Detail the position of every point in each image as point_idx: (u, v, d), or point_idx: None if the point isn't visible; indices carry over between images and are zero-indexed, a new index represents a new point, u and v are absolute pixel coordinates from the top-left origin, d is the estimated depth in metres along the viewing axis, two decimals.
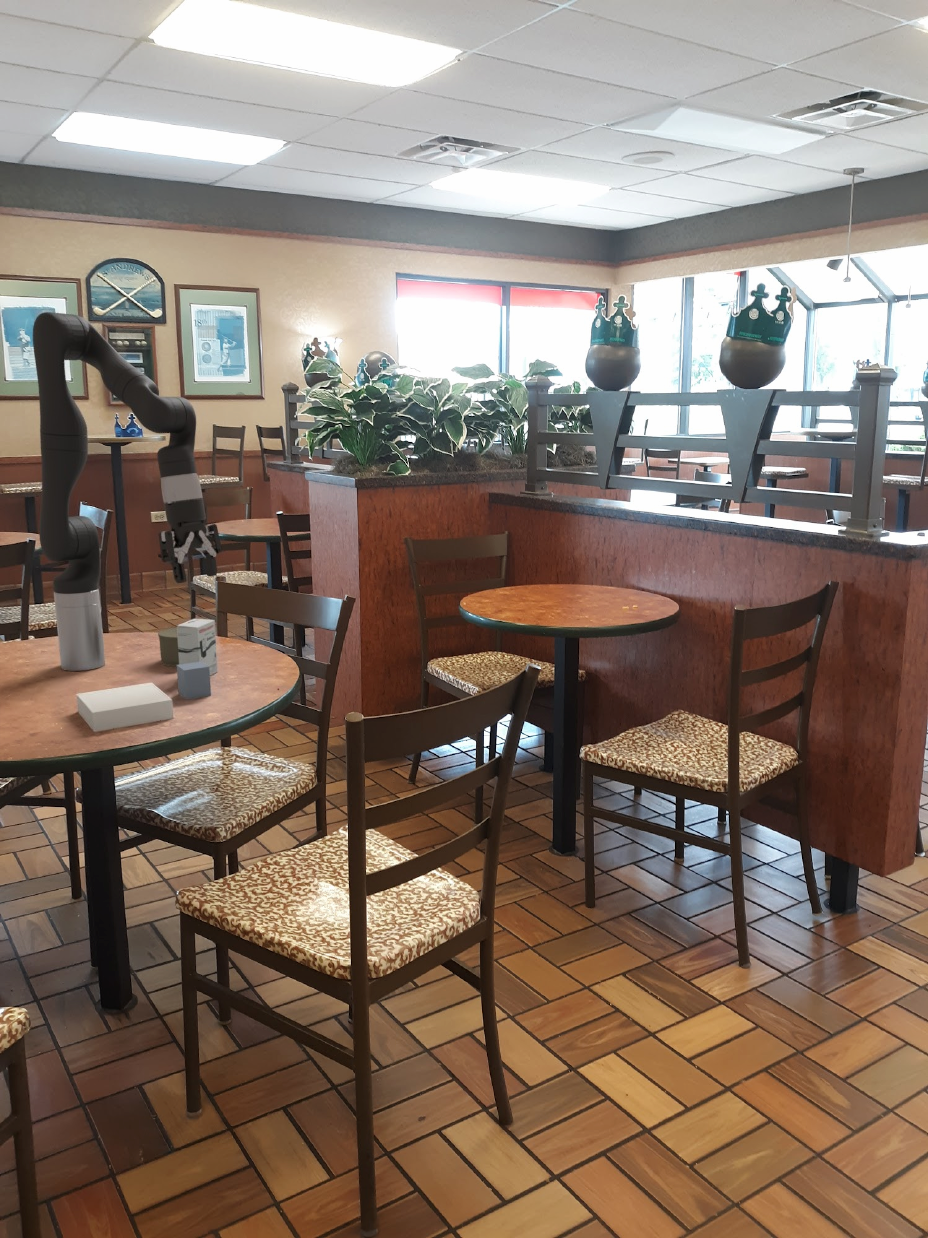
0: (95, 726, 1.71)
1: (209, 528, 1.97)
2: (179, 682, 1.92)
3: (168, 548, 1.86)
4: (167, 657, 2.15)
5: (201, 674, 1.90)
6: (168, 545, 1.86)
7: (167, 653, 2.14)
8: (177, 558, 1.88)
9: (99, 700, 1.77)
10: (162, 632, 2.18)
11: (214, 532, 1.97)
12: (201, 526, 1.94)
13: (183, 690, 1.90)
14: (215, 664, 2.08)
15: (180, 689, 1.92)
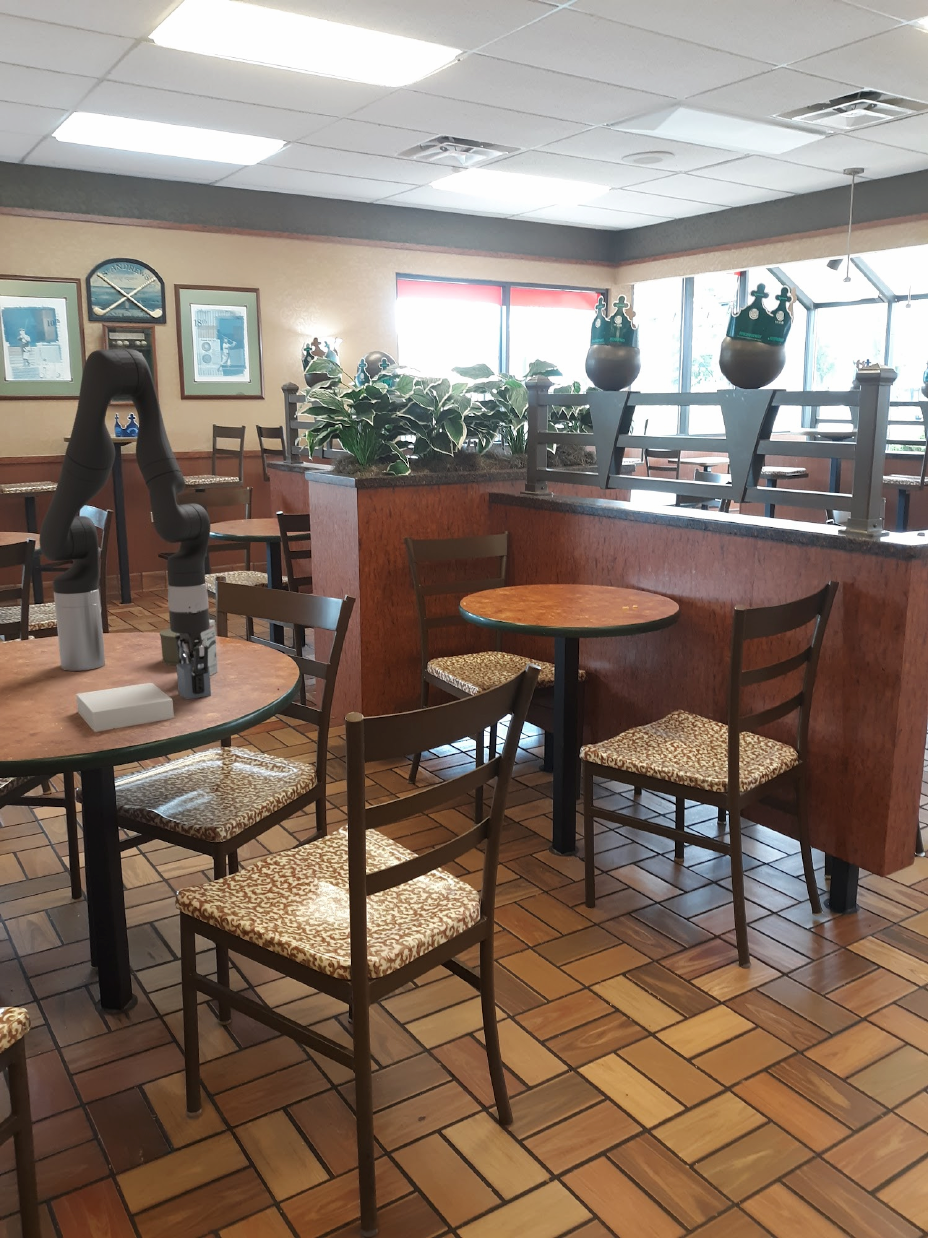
0: (95, 726, 1.71)
1: None
2: (178, 682, 1.92)
3: (206, 662, 1.87)
4: (168, 656, 2.15)
5: None
6: (207, 660, 1.87)
7: (168, 652, 2.15)
8: None
9: (99, 700, 1.77)
10: (164, 631, 2.19)
11: None
12: None
13: (183, 690, 1.90)
14: (215, 664, 2.08)
15: (180, 689, 1.92)
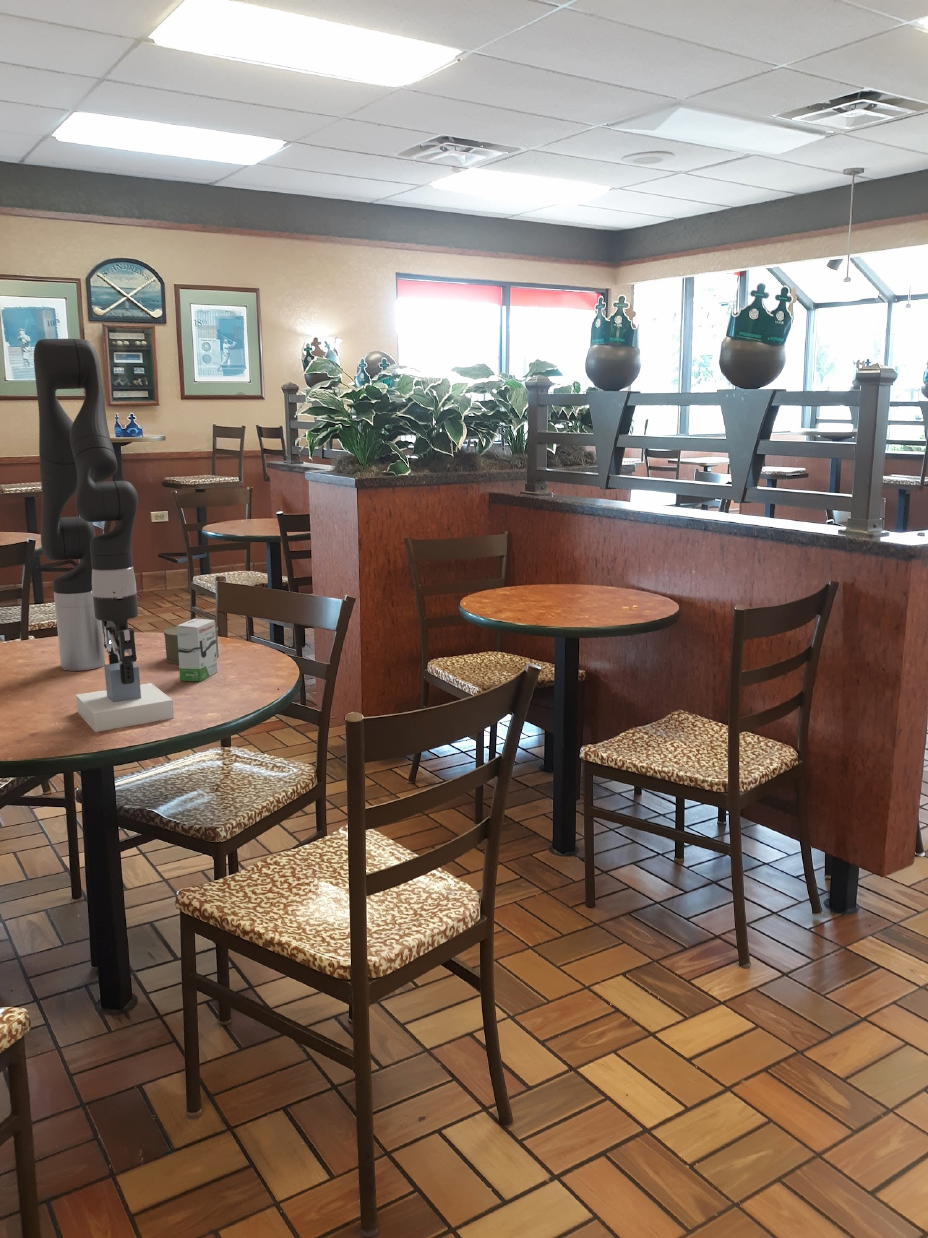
0: (96, 727, 1.71)
1: None
2: (106, 684, 1.79)
3: (133, 648, 1.72)
4: (172, 655, 2.17)
5: None
6: (134, 645, 1.72)
7: (172, 650, 2.16)
8: None
9: (99, 701, 1.77)
10: (167, 630, 2.20)
11: None
12: None
13: (110, 692, 1.77)
14: (215, 664, 2.08)
15: (108, 691, 1.79)
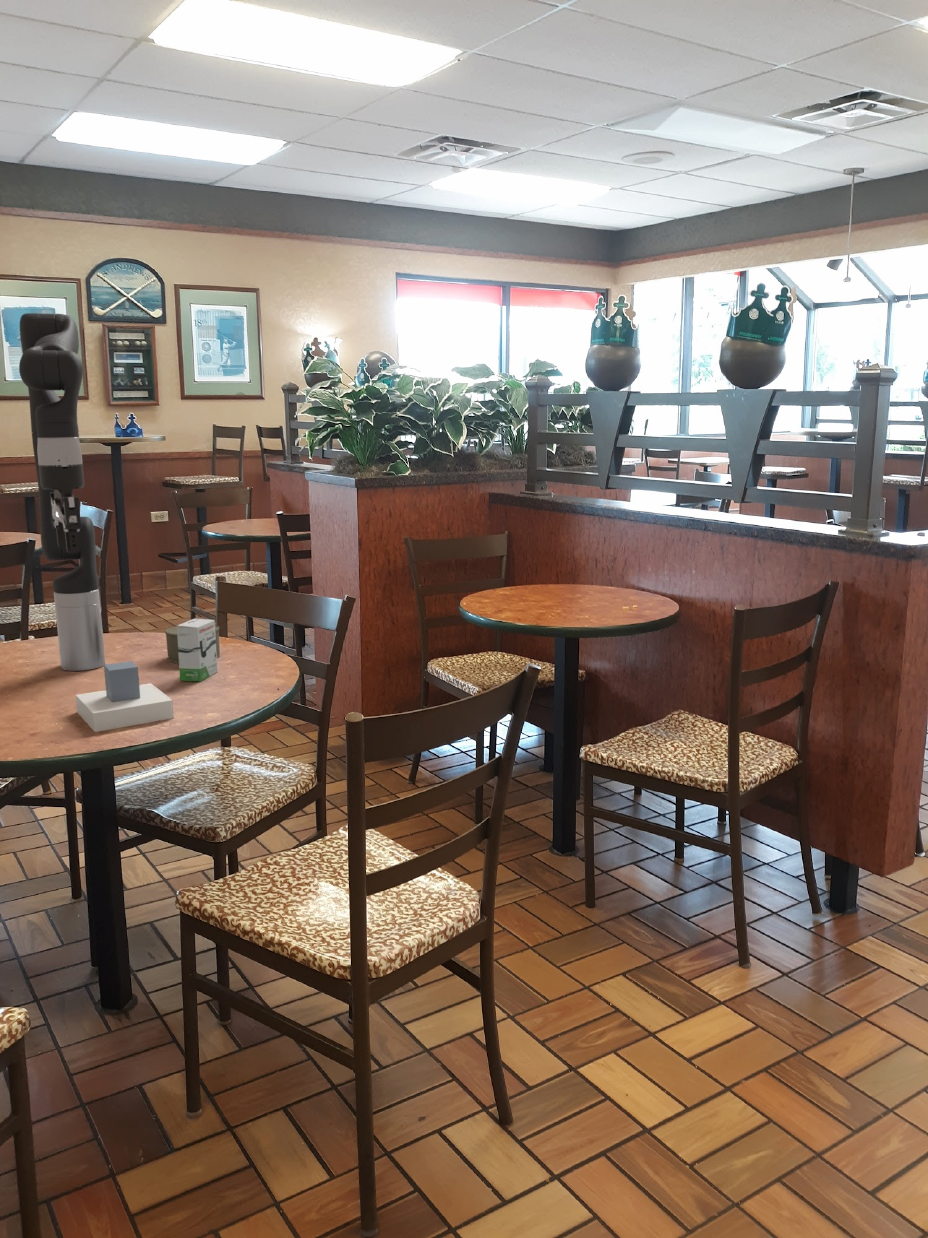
0: (96, 727, 1.71)
1: None
2: (106, 683, 1.79)
3: (78, 515, 1.74)
4: (173, 654, 2.17)
5: (129, 675, 1.77)
6: (79, 512, 1.74)
7: (173, 650, 2.17)
8: None
9: (99, 701, 1.77)
10: (169, 629, 2.21)
11: None
12: None
13: (109, 692, 1.77)
14: (215, 664, 2.08)
15: (107, 691, 1.79)
